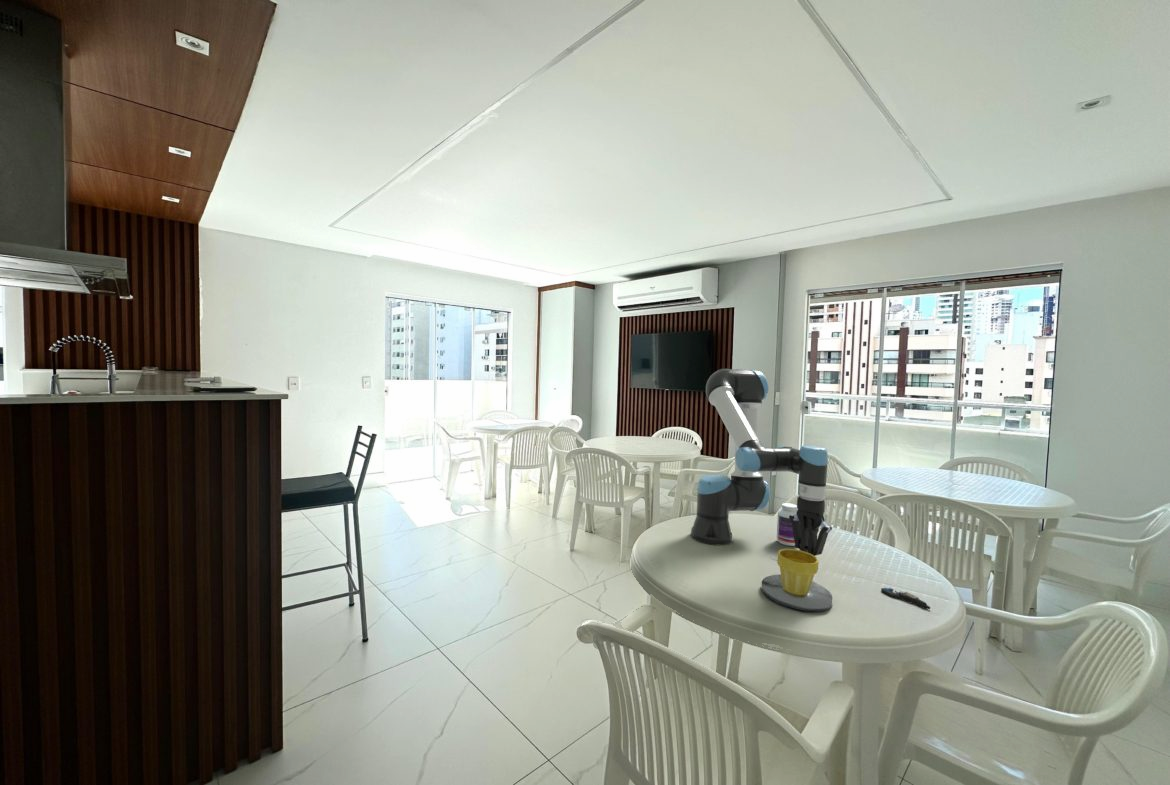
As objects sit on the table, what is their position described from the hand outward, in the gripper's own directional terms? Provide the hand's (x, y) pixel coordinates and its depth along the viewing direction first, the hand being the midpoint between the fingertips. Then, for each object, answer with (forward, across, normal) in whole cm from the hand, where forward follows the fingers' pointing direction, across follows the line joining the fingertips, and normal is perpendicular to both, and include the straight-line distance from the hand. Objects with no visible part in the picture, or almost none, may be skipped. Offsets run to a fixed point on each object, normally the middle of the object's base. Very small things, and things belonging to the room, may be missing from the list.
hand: (806, 574), depth 136 cm
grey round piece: (+1, +4, -10) cm, 11 cm away
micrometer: (+3, +19, +16) cm, 25 cm away
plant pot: (0, +6, -12) cm, 14 cm away
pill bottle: (+2, -24, +22) cm, 32 cm away
